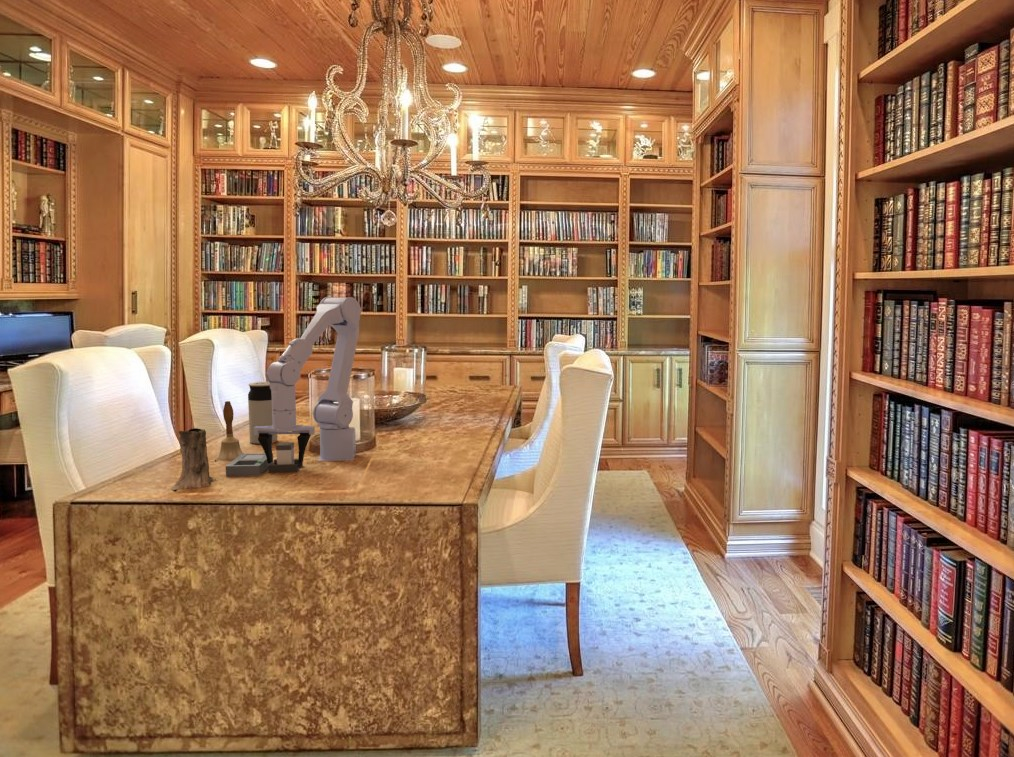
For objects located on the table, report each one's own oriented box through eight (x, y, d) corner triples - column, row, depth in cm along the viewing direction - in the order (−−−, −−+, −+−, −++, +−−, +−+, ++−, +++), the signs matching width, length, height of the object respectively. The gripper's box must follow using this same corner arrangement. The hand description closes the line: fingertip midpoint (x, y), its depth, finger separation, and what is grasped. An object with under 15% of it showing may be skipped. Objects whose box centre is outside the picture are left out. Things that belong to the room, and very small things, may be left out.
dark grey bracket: (302, 467, 187) (302, 458, 186) (297, 474, 180) (296, 465, 179) (275, 468, 186) (274, 459, 186) (268, 475, 179) (268, 465, 179)
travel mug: (283, 441, 221) (281, 382, 218) (261, 445, 214) (259, 385, 212) (265, 438, 225) (263, 380, 223) (244, 442, 218) (241, 383, 216)
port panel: (273, 464, 190) (273, 451, 190) (259, 477, 177) (259, 464, 176) (242, 464, 190) (241, 452, 189) (226, 478, 176) (225, 464, 176)
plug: (294, 467, 185) (293, 442, 184) (291, 470, 181) (290, 445, 180) (280, 467, 184) (279, 442, 184) (277, 471, 181) (276, 445, 180)
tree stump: (170, 493, 162) (168, 434, 161) (172, 483, 171) (170, 427, 170) (218, 489, 166) (216, 432, 165) (217, 480, 175) (215, 425, 174)
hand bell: (236, 463, 191) (233, 404, 190) (208, 461, 193) (205, 403, 191) (253, 456, 200) (250, 399, 198) (226, 455, 201) (223, 398, 199)
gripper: (249, 412, 176) (251, 466, 178) (310, 411, 178) (311, 465, 179) (257, 407, 183) (259, 460, 185) (315, 407, 185) (316, 459, 186)
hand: (285, 462), depth 183 cm, fingers open, 7 cm apart
